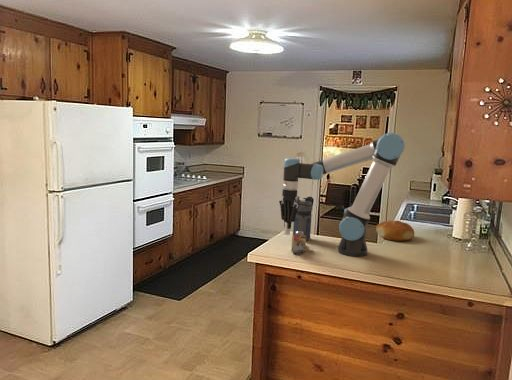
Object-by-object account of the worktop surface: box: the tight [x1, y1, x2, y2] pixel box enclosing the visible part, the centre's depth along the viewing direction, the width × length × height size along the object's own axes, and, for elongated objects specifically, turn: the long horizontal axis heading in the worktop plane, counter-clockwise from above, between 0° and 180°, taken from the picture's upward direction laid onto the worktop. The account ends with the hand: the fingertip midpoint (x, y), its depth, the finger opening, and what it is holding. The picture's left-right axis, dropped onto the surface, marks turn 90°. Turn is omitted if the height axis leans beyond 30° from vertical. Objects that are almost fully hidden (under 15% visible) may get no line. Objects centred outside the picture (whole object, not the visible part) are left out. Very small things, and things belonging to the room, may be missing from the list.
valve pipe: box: [290, 234, 307, 255], centre depth 218 cm, size 18×7×8 cm, turn 171°
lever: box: [293, 231, 303, 241], centre depth 212 cm, size 14×4×2 cm, turn 167°
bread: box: [375, 220, 415, 242], centre depth 254 cm, size 23×23×10 cm
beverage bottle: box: [292, 195, 315, 241], centre depth 239 cm, size 10×13×25 cm
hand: (287, 234), depth 213 cm, fingers closed
